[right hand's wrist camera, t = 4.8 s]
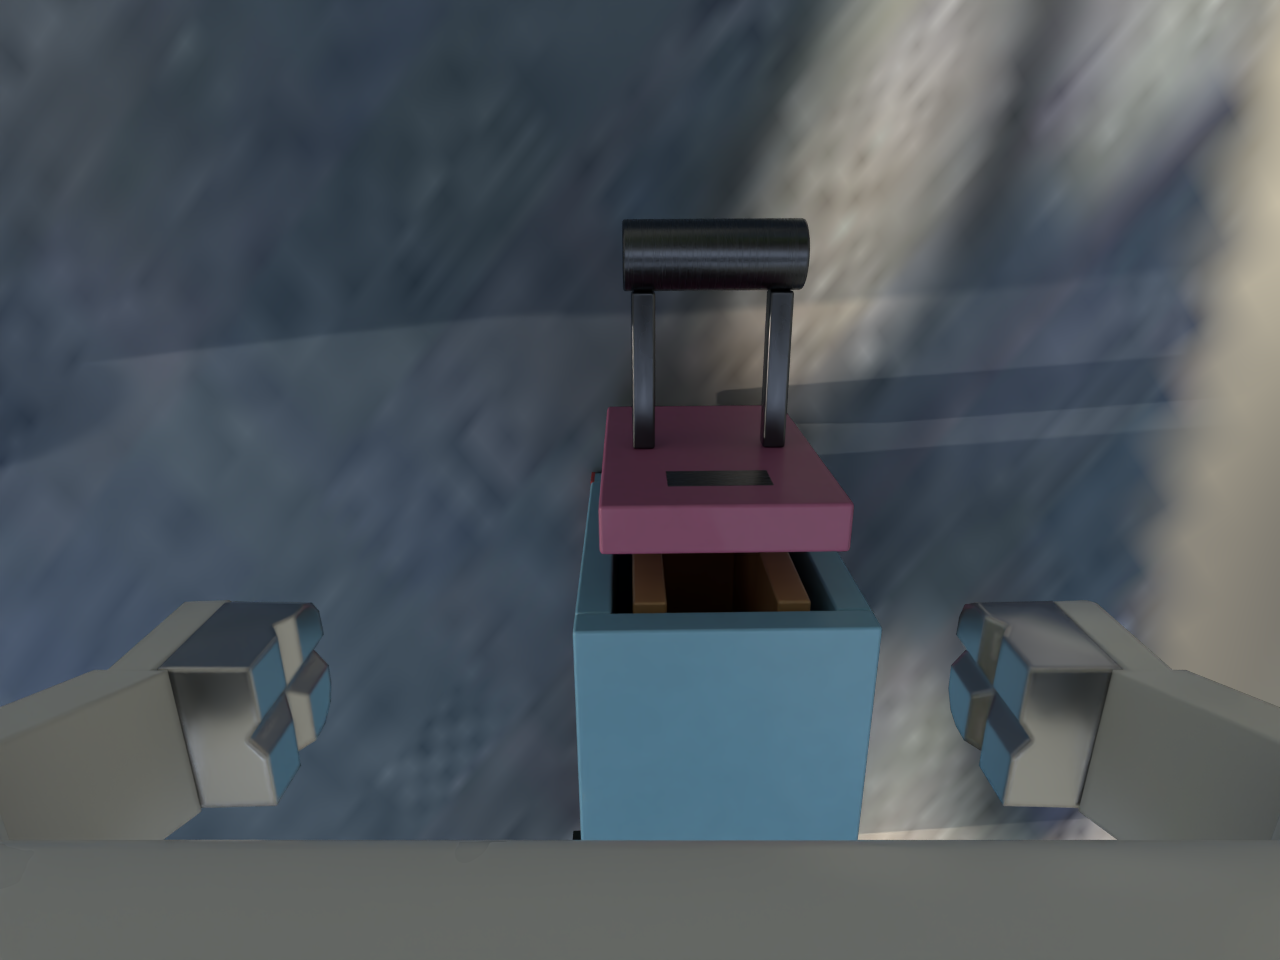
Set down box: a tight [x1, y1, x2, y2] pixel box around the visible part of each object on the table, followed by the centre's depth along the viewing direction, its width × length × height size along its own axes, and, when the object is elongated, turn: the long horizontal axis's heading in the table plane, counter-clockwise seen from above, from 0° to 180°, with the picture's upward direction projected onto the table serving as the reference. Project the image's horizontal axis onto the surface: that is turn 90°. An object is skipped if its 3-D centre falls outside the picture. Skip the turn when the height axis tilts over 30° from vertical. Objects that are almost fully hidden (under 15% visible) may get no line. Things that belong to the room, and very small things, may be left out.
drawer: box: [598, 218, 854, 613], centre depth 23 cm, size 21×6×9 cm, turn 0°
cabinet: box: [573, 472, 882, 840], centre depth 25 cm, size 17×7×10 cm, turn 0°
